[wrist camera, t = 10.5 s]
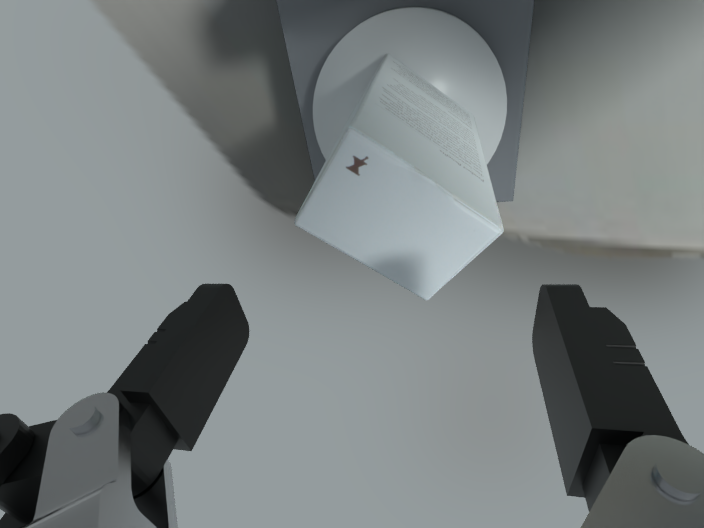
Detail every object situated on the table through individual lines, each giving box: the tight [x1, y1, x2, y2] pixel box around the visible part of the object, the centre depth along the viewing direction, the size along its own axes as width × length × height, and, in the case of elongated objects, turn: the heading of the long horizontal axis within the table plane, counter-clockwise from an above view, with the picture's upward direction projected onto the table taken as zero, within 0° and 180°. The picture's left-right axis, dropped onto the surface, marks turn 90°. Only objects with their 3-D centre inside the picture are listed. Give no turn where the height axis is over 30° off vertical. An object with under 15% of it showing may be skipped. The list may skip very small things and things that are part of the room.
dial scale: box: [276, 0, 534, 202], centre depth 21 cm, size 13×17×9 cm
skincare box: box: [295, 54, 504, 300], centre depth 18 cm, size 6×4×12 cm
